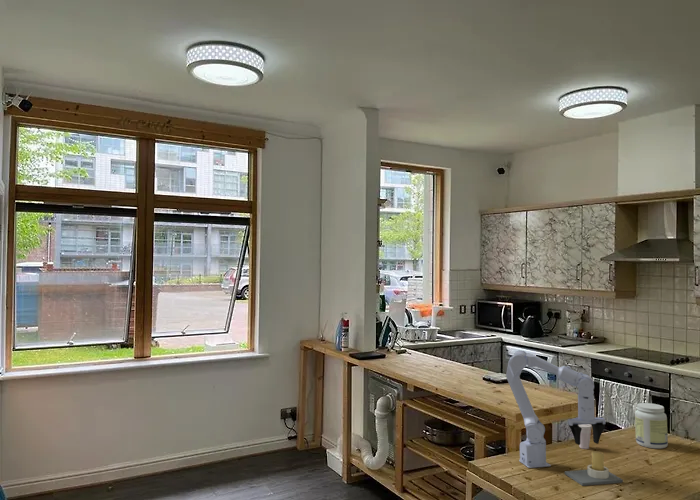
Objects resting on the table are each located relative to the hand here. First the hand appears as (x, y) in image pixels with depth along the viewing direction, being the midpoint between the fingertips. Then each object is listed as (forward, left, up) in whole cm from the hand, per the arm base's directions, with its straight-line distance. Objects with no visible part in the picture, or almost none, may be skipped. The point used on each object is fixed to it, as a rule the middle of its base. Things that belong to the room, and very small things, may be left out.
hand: (586, 443), depth 198 cm
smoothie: (+15, +24, -11) cm, 30 cm away
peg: (0, -7, -9) cm, 11 cm away
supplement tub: (+46, +22, -11) cm, 52 cm away
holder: (-2, -7, -10) cm, 12 cm away
